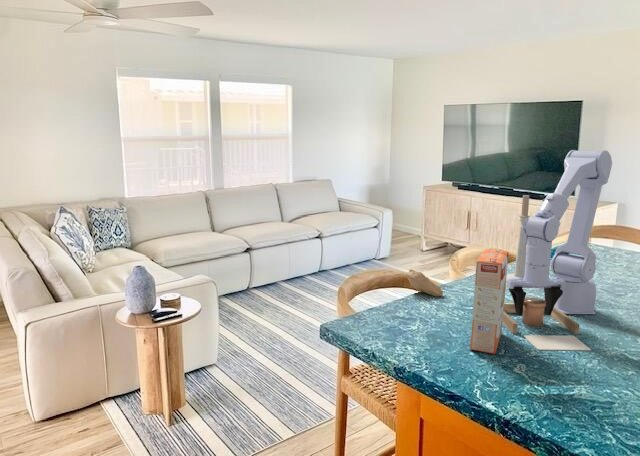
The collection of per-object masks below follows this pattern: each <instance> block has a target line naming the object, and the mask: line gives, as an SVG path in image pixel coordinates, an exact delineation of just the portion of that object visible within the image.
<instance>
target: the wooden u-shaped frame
mask: <svg viewBox="0 0 640 456" xmlns="http://www.w3.org/2000/svg"><path fill="white" fill-rule="evenodd" d="M523 306H524V305H523ZM513 313H514V314H516V310H515V305H514V302H504V312H503V322H502V325H504V327H506V328H507V329H508V330H509V331H510V332H511V334H513V335H515V334H518V323H517V322H516V320H514V319H513V318H512V317H511V316H510V315H509V314H513ZM550 317H551V318H552V319H553V320H555V321H556V322H558V323H559V324H560V325H562V326H563V327H564V328H565V329H567V330H568V331H569V332H571V333H572V334H574V335H579V332H580V324H579V322H577V321H575V320H573V319H572V318H571V317H570V316H568V314H564V313H562V312H561V311H560V310H558V309H557V308H555V307H554V308H553V310H552V313H551V316H550Z"/></svg>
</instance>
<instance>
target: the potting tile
mask: <svg viewBox="0 0 640 456" xmlns="http://www.w3.org/2000/svg"><path fill="white" fill-rule="evenodd" d="M523 337H524V338H525V339H526V340H527V341H528V342H529V344H531V345H532V346H533V347H534V348H535V349H536V350H537V351H592V349H591V348H590V347H588V346H587V345H586V344H585V343H583V342H582V341H581V340H579V338H577V337H575V335H531V334H529V335H528V334H527V335H523Z"/></svg>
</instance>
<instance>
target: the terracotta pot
mask: <svg viewBox="0 0 640 456" xmlns="http://www.w3.org/2000/svg"><path fill="white" fill-rule="evenodd" d="M523 305H524V306H523V314H522V320H521V321H522V323H523V324H524V325H527V326H530V327H542V326H543V325H544V319H545V313H544V309H545V307H546V301H545V299H542V298H538V297H530V296H529V297H525V299H524V304H523Z"/></svg>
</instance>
